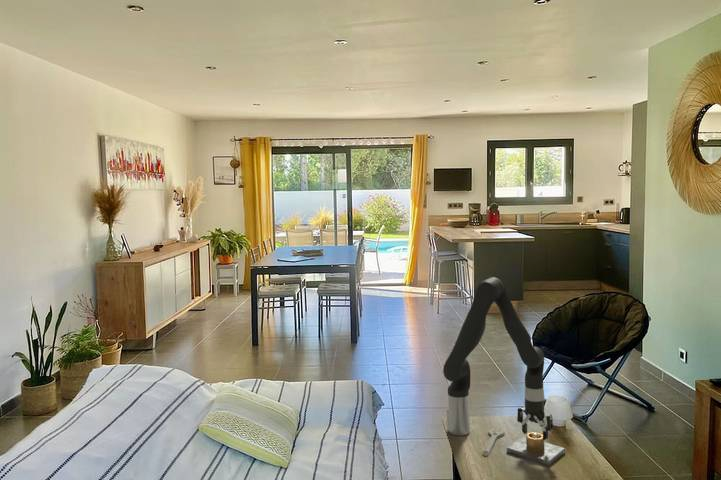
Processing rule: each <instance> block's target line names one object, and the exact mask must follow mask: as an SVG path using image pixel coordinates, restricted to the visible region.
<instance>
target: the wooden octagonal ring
mask: <svg viewBox="0 0 721 480" xmlns="http://www.w3.org/2000/svg"><path fill="white" fill-rule="evenodd" d="M533 433H537V434H538V435H539V438H531V435H532V434H533ZM525 436H526V447H527V448H528V450H531V451H542V450H544V442H545V440H543V433H539V432H534V431H532V432H527V433H526V434H525Z"/></svg>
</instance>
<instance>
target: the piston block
mask: <svg viewBox="0 0 721 480" xmlns="http://www.w3.org/2000/svg"><path fill="white" fill-rule="evenodd" d="M537 433H538V432H537ZM537 433H533V434H532V435H531V438H539V435H538V434H537ZM506 453H509V454H512V455H515V456H517V457H520V458H523V459H527V460H530V461H533V462H535V463H539V464H542V465H544V466H548V467H550V466H551V465H552V464H553V463H554V462H556V461H557V460H558V459H559V458H560V457H562V456H563V455H564V454H565V453H566V450H565V447H562V446H560V445H556V444H553V443H549V442H545V441H544V450H542V451H531V450H528V448H527V447H526V435H522V436H521V437H519V438H517V440H515V441H514V442H512V443H511V444H509V445H508V446H507V447H506Z"/></svg>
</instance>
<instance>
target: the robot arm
mask: <svg viewBox="0 0 721 480" xmlns="http://www.w3.org/2000/svg"><path fill="white" fill-rule="evenodd" d="M505 287H506V286H505V285H504V283H503V282H502V281H501V279H500V278H497V277H494V276H492V277H489V278H486V279H484V280H482V281H481V282H480V283H479V284H478V285H477V286H476V290H475V293H474V295H473V296H474V297H473V299H472V304H471V306H470V309H469V310H468V312H467V315H466V317H465V319H464V321H463V324H462V326H461V328H460V330H459V331H460V332H459V334H458V336H457V338H456V341H455V343H454V346H453V348H452V350H451V352H450V353H449V355H448V357H447V359H446V361H445V362H444V363H443V369H442V373H443V376H444V378H445V379H446V380H447V381H449V382H451V383H450V384H449V385H448V387H447V403H448V404H447V406H448V408H447V410H446V431H447V432H449V433H450V434H452V435H454V436H466V435H469V434H470V432H471V427H470V424H471V423H470V422H471V420H470V419H471V418H470V396H469V394H470V392H469V391H470V389H471V366H470V364H469V361H468V360H467V357H468V356H469V355H470V354H471V353H472V352H473V351H474V350H475V349H476V347H477V346H478V344H479V343H480V342H481V339H482V338H483V336H484V334H485V329H486V323H487V316H488V312H489V310H490V309H491V306H492V305H493V303H495V304H496V306H497V308H498V309H499V311H500V314H501V318H502V322H503V324H504V328H505V330H506V332H507V334H508V335H509V338H511V340H512V342H513V343H514V345H515V346H516V349H517V352H518V355H519V357H520V359H521V361H522V362H523V364H524V365H525V367H526V370H525V371H526V372H525V373H524V407H523V406H520V407H518V408H517V417H516V418H517V420H516V421H517V423H519V424H521V431H522V434H523V435H526V434H528V422H531V423H535V424H538V426H539V427H541V429H542V435H543V440H544V441H546V440H547V439H548V438H549V432H551V431H552V430H553V429H554V423H553V422H554V421H553V415H552V414H546V413H545V392H544V391H545V390H544V368H545V355H544V352H543V350H542V349H541V348H539V347H538V346H534V345H533V343H532V337H531V334H530V333H529V332H528V330H527V328H526V327H525V325H524V324H523V322H522V321H521V318H520V317H519V315H518V313H517V312H516V310H515V307H514V306H513V303H512V301H511V298H510V296H509V294H508V291H507V290H506V288H505ZM524 414H525V418H524Z"/></svg>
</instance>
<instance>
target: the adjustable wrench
mask: <svg viewBox="0 0 721 480" xmlns="http://www.w3.org/2000/svg"><path fill="white" fill-rule="evenodd" d="M487 435H488V436H490V438H489V439H488V442H487V443H486V445H485V446H484V448H483V450H482V452H481V453H482V456H483V457H489V455H490V454H491V452H492V450H493V448H494V446H495V444H496V441H497V440H498V439H500V437H504V436H505V430H504V429H503V428H499V431H496V430H495V429H494V428H491V429H490V430H489V431H487Z"/></svg>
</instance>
